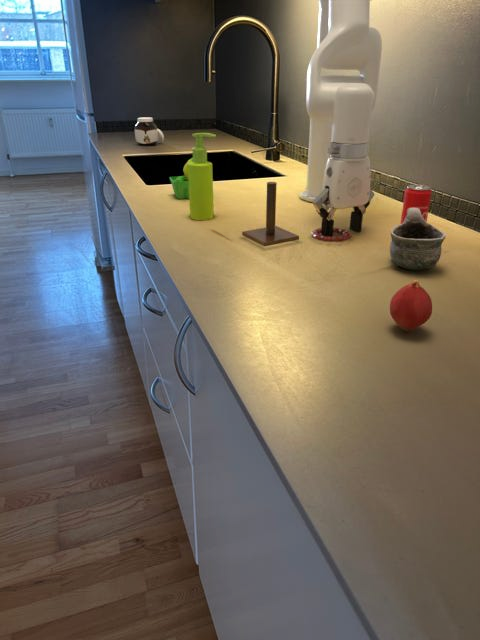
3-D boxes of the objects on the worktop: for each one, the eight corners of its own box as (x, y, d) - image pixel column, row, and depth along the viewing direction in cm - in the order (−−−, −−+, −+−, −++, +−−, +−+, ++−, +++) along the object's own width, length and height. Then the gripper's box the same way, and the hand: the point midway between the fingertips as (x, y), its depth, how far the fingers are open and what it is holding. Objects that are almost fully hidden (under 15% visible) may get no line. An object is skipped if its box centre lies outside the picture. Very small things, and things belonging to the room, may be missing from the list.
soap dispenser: (214, 221, 125) (212, 135, 116) (187, 219, 127) (183, 134, 118) (220, 214, 131) (218, 131, 121) (193, 213, 132) (190, 131, 123)
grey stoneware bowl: (395, 276, 93) (403, 223, 89) (375, 253, 104) (381, 205, 100) (446, 275, 94) (457, 222, 89) (421, 252, 105) (429, 204, 100)
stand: (275, 231, 118) (277, 176, 112) (299, 242, 111) (302, 184, 105) (242, 238, 113) (242, 181, 108) (264, 249, 107) (265, 189, 101)
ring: (332, 231, 118) (333, 224, 117) (357, 241, 112) (358, 234, 111) (303, 236, 114) (304, 230, 113) (327, 247, 108) (328, 240, 107)
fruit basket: (207, 191, 153) (206, 152, 148) (215, 198, 146) (214, 157, 141) (169, 194, 150) (167, 154, 145) (176, 201, 142) (173, 159, 137)
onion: (381, 321, 77) (388, 272, 74) (418, 320, 78) (426, 271, 74) (394, 340, 72) (402, 288, 68) (434, 339, 72) (444, 287, 69)
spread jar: (134, 145, 235) (131, 118, 229) (142, 142, 245) (140, 116, 239) (159, 146, 233) (157, 119, 228) (166, 142, 243) (164, 116, 237)
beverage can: (423, 240, 112) (432, 185, 106) (422, 247, 107) (432, 190, 102) (398, 238, 113) (406, 183, 108) (396, 245, 109) (405, 188, 103)
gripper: (327, 157, 99) (321, 244, 107) (392, 150, 107) (381, 231, 115) (304, 151, 105) (299, 235, 113) (367, 145, 113) (358, 223, 121)
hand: (341, 232), depth 114 cm, fingers open, 7 cm apart
